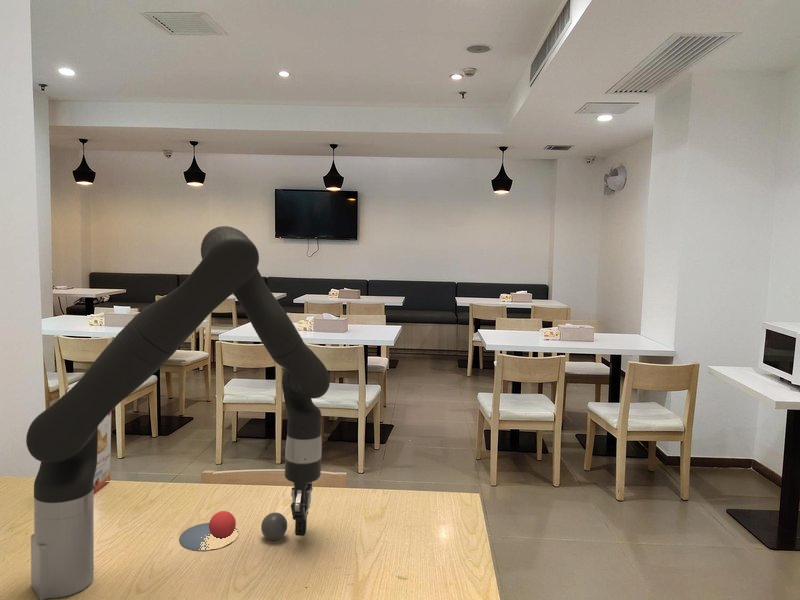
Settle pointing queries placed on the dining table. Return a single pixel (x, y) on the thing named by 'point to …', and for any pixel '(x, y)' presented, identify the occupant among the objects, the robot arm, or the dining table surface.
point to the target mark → (195, 536)
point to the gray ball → (274, 526)
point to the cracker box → (103, 454)
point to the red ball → (222, 524)
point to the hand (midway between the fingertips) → (300, 533)
